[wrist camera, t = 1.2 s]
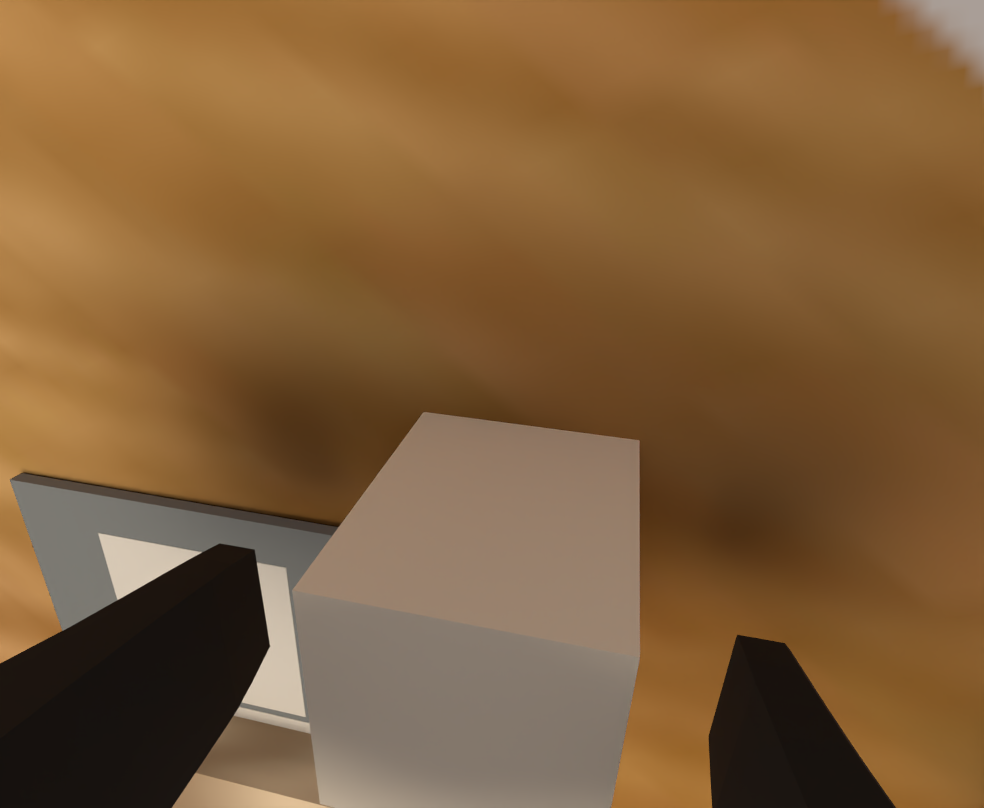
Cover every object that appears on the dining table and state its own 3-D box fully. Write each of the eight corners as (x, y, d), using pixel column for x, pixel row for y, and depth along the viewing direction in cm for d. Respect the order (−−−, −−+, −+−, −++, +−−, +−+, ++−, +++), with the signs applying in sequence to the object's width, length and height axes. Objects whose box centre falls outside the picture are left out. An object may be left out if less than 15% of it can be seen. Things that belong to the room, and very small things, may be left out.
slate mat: (379, 533, 13) (373, 543, 13) (397, 903, 19) (393, 914, 19) (21, 473, 15) (9, 480, 14) (142, 831, 21) (134, 841, 20)
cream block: (639, 439, 11) (639, 657, 6) (612, 610, 13) (597, 874, 8) (424, 410, 12) (292, 590, 7) (426, 576, 13) (320, 804, 9)
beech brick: (366, 747, 16) (338, 809, 14) (374, 862, 18) (351, 927, 16) (94, 682, 17) (44, 733, 16) (132, 796, 19) (91, 851, 18)
